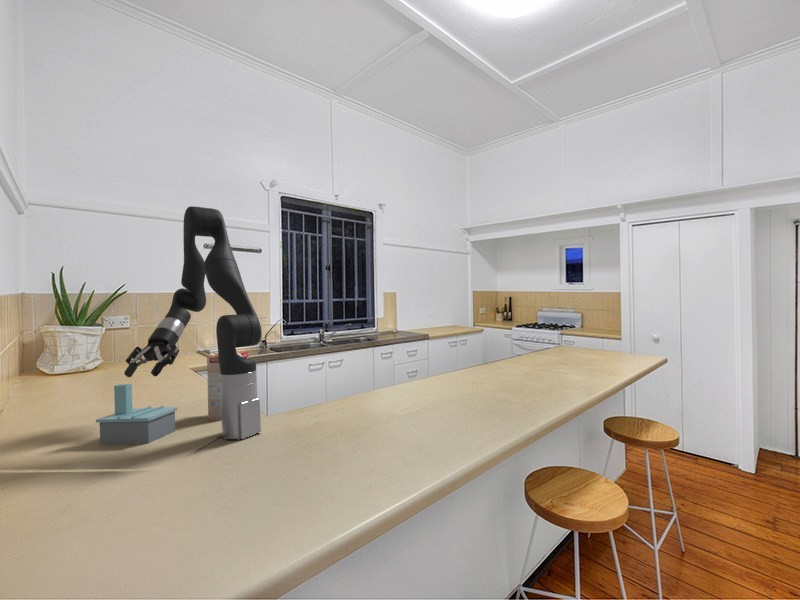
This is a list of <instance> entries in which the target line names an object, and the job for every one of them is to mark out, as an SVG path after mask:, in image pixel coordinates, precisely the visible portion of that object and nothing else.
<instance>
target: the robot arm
mask: <svg viewBox="0 0 800 600" xmlns="http://www.w3.org/2000/svg"><path fill="white" fill-rule="evenodd" d="M183 215H184V216H183V265H182V273H181V280H180V284H181V286H182V287H183V288H179V289H177V290H176V291H175V292H174V294H173V296H172V302H171V305H170V308H169V310H168V312H167V313H166V314H165V316H164V318H163V319H162V320H161V321H160V323H159V324H158V325H157V326H156V327H155V329H154V330H153V332H152V333H151V334H150V336H149V338H148V339H147V345H146V346H145V347H140V346H136V347H135V348H134V349H133V350H132V352H131V353H130V354H129V355H128V357H127V358H126V359H125V363H127V364H128V366H127V367H126V369H125V371H124V375H125V377H127V378H132V377H133V375H134V373H135V372H136V371H137V369H138V367H139V366H141V365H143V364H146V363H148V362H152V361H156V363H155V365H154V366H153V367H152V369H151V371H150V374H151V375H152V376H153V377H158V376H159V375H160V374H161V373H162V371H163V369H164V367H167V365H169V366H171V365H173V364H174V362H175V360H176V358H177V357H178V354H179V352H180V349H179V348H178V346H176V345H177V343H178V342H179V340H180V338H181V336H182V335H183V333H184V330H185V328H186V327H187V325H188V323H189V322H190V320H191V318H192V315H191V312H195V313H199V312H201V311H203V310H204V309H205V307H206V305H207V295H206V290H205V279H206V280H207V283H208V286H209V287H210V288H211V289H212V291H213V292H214V293H216V294H217V295H218V296H219V297H220V298H222V299H223V300H224V301H225V302H226V303H228V304H229V305H230V307H232V309H233V310H234V312H235V314H224V315H222V316H220V317H219V318H218V319H217V322H216V330H215V331H216V342H217V343H216V344H217V353H218V354H217V355H218V358H219V366H220V380H221V409H222V420H221V425H222V426H221V428H222V429H221V430H222V439H223V438H224V440H227V439H237V440H240V439H243V440H245V439H247V438H246V437H248V438H250V437H249V436H251V435H254V434H256V433H259V432H261V433H262V429H261V428H262V425H261V422H262V420H261V403H260V401H261V400H260V398H258V382H257V381H258V379H257V378H258V377H257V362H256V360H254V359H251V358H248V359H247V358H243V357H241V356H239V355H238V354H237V352H238V351H237V348H246V347H253V346H257V345H258V344H260V342H261V340H262V336H263V335H262V333H263V332H262V331H263V330H262V325H261V323H260V320H259V317H258V315H257V312H256V311H255V308H254V307H253V305H252V302H251V300H250V298H249V296H248V293H247V290H246V288H245V285H244V282H243V279H242V275H241V272H240V269H239V266H238V263H237V260H236V258H235V256H234V252H233V250H232V247H231V243H230V240H229V235H228V230H227V227H226V223H225V219H224V216H223V214H222V213H221V211H220V210H218V209H216V208H212V207H211V208H210V207H201V206H193V205H192V206H191V205H190V206H188V207H186V210H185V211H184V214H183ZM196 237H209V238H210V237H211V238H212V239H213V240H214V244H213V247H212V248H211V250H210V251H209V252H208V254H207V256H206V258H205V259H204V257H203V256H202V254H201V252H200V251H199V249H198V247H197V245H196ZM142 357H143V358H144V359H143V358H142ZM259 434H260V433H259ZM256 435H257V434H256ZM254 436H255V435H254ZM251 437H252V436H251ZM244 438H245V439H244Z"/></svg>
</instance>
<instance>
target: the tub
mask: <svg viewBox="0 0 800 600" xmlns="http://www.w3.org/2000/svg"><path fill="white" fill-rule="evenodd" d="M174 432H176V411H174V412H171V413H168V414H166V415H163V416H160V417H158V418H155V419H153V420H150V421H135V422H99V444H100V445H131V444H132V445H133V444H135V445H137V444H139V445H140V444H150V443H153V442H154V441H157V440H159V439H162V438H164V437H165V436H167V435H171V434H173V433H174Z"/></svg>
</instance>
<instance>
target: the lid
mask: <svg viewBox="0 0 800 600" xmlns="http://www.w3.org/2000/svg"><path fill="white" fill-rule="evenodd" d="M132 387H133V384H132V383H122V384H119V383H118V384H116V385H114V386H113V391H114V393H113V395H114V397H113V398H114V413H112V414H109V415H106V416H102V417H100V418H96V419H95V423H100V422H135V421H150V420H153V419H155V418H158V417H160V416H163V415H166V414H168V413H171V412H174V411H175V412H176V411H178V406H175V407H174V406H173V407H172V406H171V407H170V406H169V407H165V405H161V406H158V407H152V406H151V405H150V406H146V407H142V408H141V407H140V408H136V407H135V408H133V389H132Z"/></svg>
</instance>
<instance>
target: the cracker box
mask: <svg viewBox="0 0 800 600" xmlns="http://www.w3.org/2000/svg"><path fill="white" fill-rule="evenodd" d="M236 352H237V354H238V355H239V356H241V357H243V358H247V359H249V351H245V350H244V351H243V350H239V351H236ZM206 367H207V373H206V374H207V409H208V410H207V414H208V416H207V417H208V418H207V419H208V421H222V409H221V380H220V366H219V358H218V354H214V355H213V354H211V355H207V356H206Z"/></svg>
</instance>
